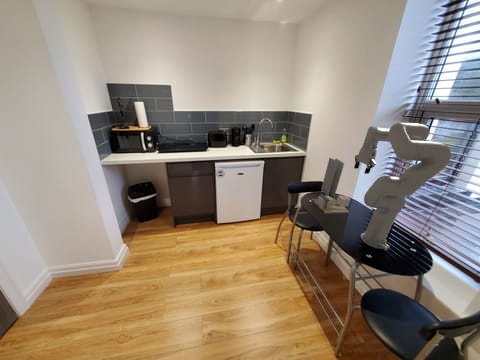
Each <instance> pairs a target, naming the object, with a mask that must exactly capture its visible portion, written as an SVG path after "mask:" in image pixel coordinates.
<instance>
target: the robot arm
mask: <svg viewBox="0 0 480 360" xmlns="http://www.w3.org/2000/svg"><path fill="white" fill-rule="evenodd" d="M430 131H431V130H430V128H429V127H428V126H427V125H426V124H422V123H416V122H415V123H414V122H413V123H412V122H397V123H395V124H393V125H391V126H390V128H389V127H380V126H374V125H373V126H369V127H368V129H367V132H366V134H365V138H364V140H363V144H362V146H361V147H360V150H359V152H358V154H356V155H354V163H355V164H354V167H353V169H359V167H360V164H364V165H366V167H365V170H364V174H365V175H366V174H367V175H368V174H370V173H371V172H370V171H371V169H373V168H374V167H375V166H376V165H377V162H376V161H375V160H376V156H377V148H378V144H379V142H388V143H390V145H391V147H392V150H393V152H394V154H395V156H396V157H397V158H398V159H400V160H404V161H415V162H418V163H415V164H414V165H411V166H410V167H408V168H407V169H406V170H404V172H403V173H401V175H398V176H395V175H382V176H379V177H378V178H377V179H376V180H375V181H374V182H373V183H372V184H371V185H370V187H368V189H367V191H366V192H365V194H364V196H363V202H364V204H365V205H366V207H369V208H373V209H375V210H374V211H373V212H372V214H371V215H372V216H371V218H370V219H369V223H368V225H367V227H366V229H365V231H364V232H362V233H360V239H361V240H362V241H363V243H364V244H366V245H368V246H370V247H372V248H375V249H381V250H384V251H388V250H389V248H390V247H391V246H390V245H389V244H387V241H388V240H387V236H388V234H389V232H390V230H391V229H392V227H393V224H394V222H395V221H396V217H397V216H398V214H399V213H400V212H401V211H402V210H403V208H404V207H405V204H406V198H408V197H410V196H412V195H413V194H414V193H416V192H417V191H418V190H419V189H420V188H422V187H423V186H424V185H425V184H426V183H427V182H428V181H429V180H431V179H432V178H434V177H436V175H438V174H439V173H440V172H441V171H443V170H444V169H445V168H446V167H447V165H448V164H449V163H450V160H451V157H452V153H451V152H452V150H451V148H450V147H449V146H448V145H447V144H445V143H442V142H438V141H429V140H426V139H427V138H428V137H429V136H430Z"/></svg>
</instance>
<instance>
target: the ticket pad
mask: <svg viewBox="0 0 480 360" xmlns="http://www.w3.org/2000/svg"><path fill="white" fill-rule="evenodd" d="M317 199H318V201H317V204H318V205H319V206H320V207H324V208H325V209H326V207H332V206H333V203H334V199H335V198H334V199H333V197H332V196H330V195H328V196H326V195H325V194H324V193H319V195H318V197H317Z"/></svg>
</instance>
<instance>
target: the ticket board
mask: <svg viewBox="0 0 480 360" xmlns="http://www.w3.org/2000/svg"><path fill="white" fill-rule="evenodd" d="M332 198H333V197H332ZM333 199H334V203H333V206H332V207H326V209H325V208H324V207H320V206H319V205H318V204H317V201H318V198H312V199H311V201H312V203H314V204H315V206H317V207H318V208H319V210H321V211H322V212H323V213H324V214H325V215H327V214H331V215H332V214H349V213H350V210H348V209H347V208H346V206H343V207H341V206H340V205H339V204H337V203H336V201H337V199H335V197H334V198H333Z"/></svg>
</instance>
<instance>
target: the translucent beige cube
mask: <svg viewBox="0 0 480 360" xmlns="http://www.w3.org/2000/svg"><path fill="white" fill-rule="evenodd" d="M336 203H337V204H339V205H340V206H341V207H343V206H344V207H349V205H350V203H351V198H350V197H348V196H346V195H344V194H343V195H338V196H337V199H336Z"/></svg>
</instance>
